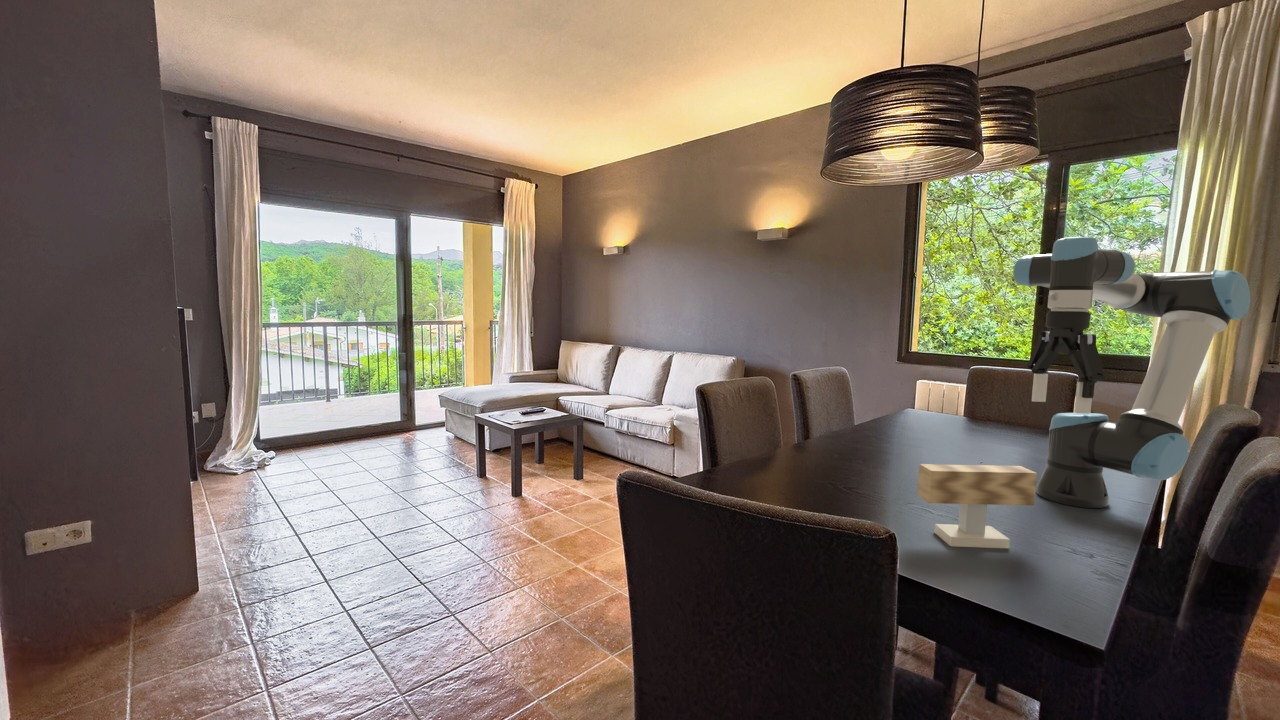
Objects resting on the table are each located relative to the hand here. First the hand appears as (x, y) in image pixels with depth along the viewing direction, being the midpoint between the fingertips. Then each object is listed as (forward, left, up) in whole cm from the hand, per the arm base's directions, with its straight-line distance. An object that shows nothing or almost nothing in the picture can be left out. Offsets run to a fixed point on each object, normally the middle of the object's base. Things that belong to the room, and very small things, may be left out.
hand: (1059, 407), depth 120 cm
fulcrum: (+20, +6, -29) cm, 35 cm away
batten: (+20, +6, -20) cm, 29 cm away
